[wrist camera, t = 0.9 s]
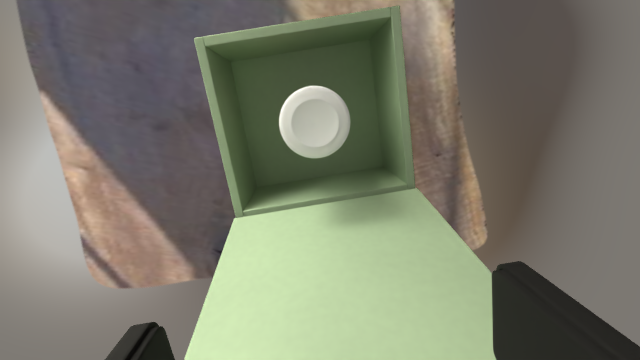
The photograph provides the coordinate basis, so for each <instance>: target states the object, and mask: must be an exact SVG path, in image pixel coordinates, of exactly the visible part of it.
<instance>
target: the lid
mask: <svg viewBox="0 0 640 360" xmlns="http://www.w3.org/2000/svg"><path fill="white" fill-rule="evenodd" d="M184 360H496V358H495V355H494V352H493V320H492V273H491V272H490V271H489V270H488V268H487V267H486V266H485V265H484V264H483V263H482V261H480V259H479V258H478V257H477V256H476V255H475V253H474V252H473V251H472V250H471V249H470V248H469V247H468V245H467V244H466V243H465V242H464V241H463V240H462V239H461V237H460V236H459V235H458V234H457V233H456V232H455V231H454V229H453V228H452V227H451V226H450V225H449V224H448V223H447V221H446V220H445V219H444V218H443V217H442V216H441V215H440V213H439V212H438V211H437V210H436V209H435V208H434V207H433V205H432V204H431V203H430V202H429V201H428V200H427V199H426V197H425V196H424V195H423V194H422V193H421V192H420V191H419V189H418V188H415V189H409V190H403V191H397V192H391V193H385V194H379V195H373V196H367V197H361V198H355V199H349V200H343V201H337V202H331V203H325V204H319V205H312V206H306V207H300V208H294V209H288V210H282V211H276V212H270V213H264V214H258V215H252V216H246V217H240V218H235V219H234V220H233V223H232V226H231V229H230V232H229V235H228V237H227V240H226V243H225V246H224V249H223V252H222V254H221V257H220V260H219V263H218V266H217V268H216V271H215V274H214V277H213V280H212V283H211V285H210V289H209V291H208V294H207V297H206V300H205V303H204V305H203V308H202V311H201V314H200V317H199V319H198V322H197V325H196V328H195V331H194V334H193V337H192V339H191V342H190V345H189V348H188V350H187V353H186V356H185V359H184Z"/></svg>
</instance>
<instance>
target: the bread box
mask: <svg viewBox="0 0 640 360" xmlns="http://www.w3.org/2000/svg"><path fill="white" fill-rule="evenodd" d="M194 41H195V46H196V50H197V54H198V58H199V63H200V67H201V71H202V75H203V80H204V84H205V88H206V92H207V97H208V101H209V105H210V109H211V114H212V118H213V122H214V126H215V131H216V135H217V139H218V143H219V148H220V152H221V156H222V160H223V165H224V169H225V173H226V177H227V182H228V186H229V190H230V194H231V199H232V203H233V207H234V211H235V216H236V218H240V217H246V216H252V215H258V214H264V213H270V212H276V211H282V210H288V209H294V208H300V207H306V206H312V205H319V204H325V203H331V202H337V201H343V200H349V199H355V198H361V197H367V196H373V195H379V194H385V193H391V192H397V191H403V190H409V189H415V178H414V166H413V155H412V143H411V131H410V120H409V108H408V97H407V85H406V74H405V62H404V51H403V39H402V27H401V16H400V6H393V7H387V8H381V9H375V10H368V11H362V12H356V13H349V14H343V15H337V16H330V17H324V18H318V19H311V20H305V21H299V22H292V23H286V24H280V25H273V26H267V27H261V28H255V29H248V30H242V31H236V32H229V33H223V34H217V35H210V36H204V37H198V38H194ZM307 86H322V87H326V88H328V89H330V90H332V91H334V92H335V93H337V94H338V95H339V96H340V97H341V98H342V99H343V101H344V102H345V104H346V106H347V108H348V110H349V114H350V130H349V134H348V136H347V138H346V140H345V142H344V143H343V145H342V146H341V147H340V148H339V149H338V150H337V151H335V152H334V153H332V154H331V155H329V156H326V157H322V158H307V157H304V156H301V155H299V154H297V153H295V152H294V151H293V150H291V149H290V148H289V147H288V146H287V144H286V143H285V141H284V140H283V138H282V135H281V132H280V128H279V116H280V112H281V109H282V106H283V104H284V103H285V101H286V100H287V98H288V97H289V96H290V95H291V94H293V93H294V92H295V91H297V90H299V89H301V88H304V87H307Z"/></svg>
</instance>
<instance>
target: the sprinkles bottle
mask: <svg viewBox="0 0 640 360" xmlns="http://www.w3.org/2000/svg"><path fill="white" fill-rule="evenodd" d="M279 128H280V132H281V135H282V138H283V140H284V141H285V143H286V144H287V146H288V147H289V148H290V149H291V150H293V151H294V152H295V153H297V154H299V155H301V156H304V157H307V158H322V157H326V156H329V155H331V154H332V153H334V152H335V151H337V150H338V149H339V148H340V147H341V146H342V145H343V143H344V142H345V140H346V138H347V136H348V134H349V130H350V114H349V110H348V108H347V106H346V104H345V102H344V101H343V99H342V98H341V97H340V96H339V95H338V94H337V93H335V92H334V91H332V90H330V89H328V88H326V87H322V86H307V87H304V88H301V89H299V90H297V91H295V92H294V93H293V94H291V95H290V96H289V97H288V98H287V100H286V101H285V103H284V104H283V106H282V109H281V112H280V116H279Z"/></svg>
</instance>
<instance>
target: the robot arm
mask: <svg viewBox="0 0 640 360" xmlns="http://www.w3.org/2000/svg"><path fill="white" fill-rule="evenodd" d="M492 320H493V352H494V355H495V358H496V360H640V347H639V346H638V345H637V344H635V343H634V342H632V341H631V340H630V339H628V338H627V337H626V336H624V335H623V334H621V333H620V332H618V331H617V330H615V329H614V328H613V327H612V326H610V325H609V324H608V323H606V322H605V321H603V320H602V319H601V318H599V317H598V316H596V315H595V314H594V313H592V312H591V311H590V310H588V309H587V308H585V307H584V306H583V305H581V304H580V303H579V302H577V301H576V300H574V299H573V298H572V297H570V296H569V295H567V294H566V293H564V292H563V291H562V290H561V289H559V288H558V287H556V286H555V285H554V284H552V283H551V282H549V281H548V280H547V279H545V278H544V277H543V276H541V275H540V274H538V273H537V272H536V271H534V270H533V269H531V268H530V267H529V266H527V265H526V264H525V263H523V262H519V261H518V262H512V263H505V264H500V265H498V266H497V270H496V271H493V273H492ZM105 360H175V359H174V356H173V353H172V350H171V347H170V344H169V341H168V338H167V335H166V332H165V329H164V328H163V327H161V326H160V327H159V325H158V324H157V323H155V322H151V323H145V324H139V325H134V326H131V327H130V328H129V329H128V331H127V332H126V333H125V335H124V336H123V337H122V338H121V340H120V341H119V342H118V344H117V345H116V346H115V347H114V349H113V350H112V351H111V353H110V354H109V355H108V356H107V358H106V359H105Z"/></svg>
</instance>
